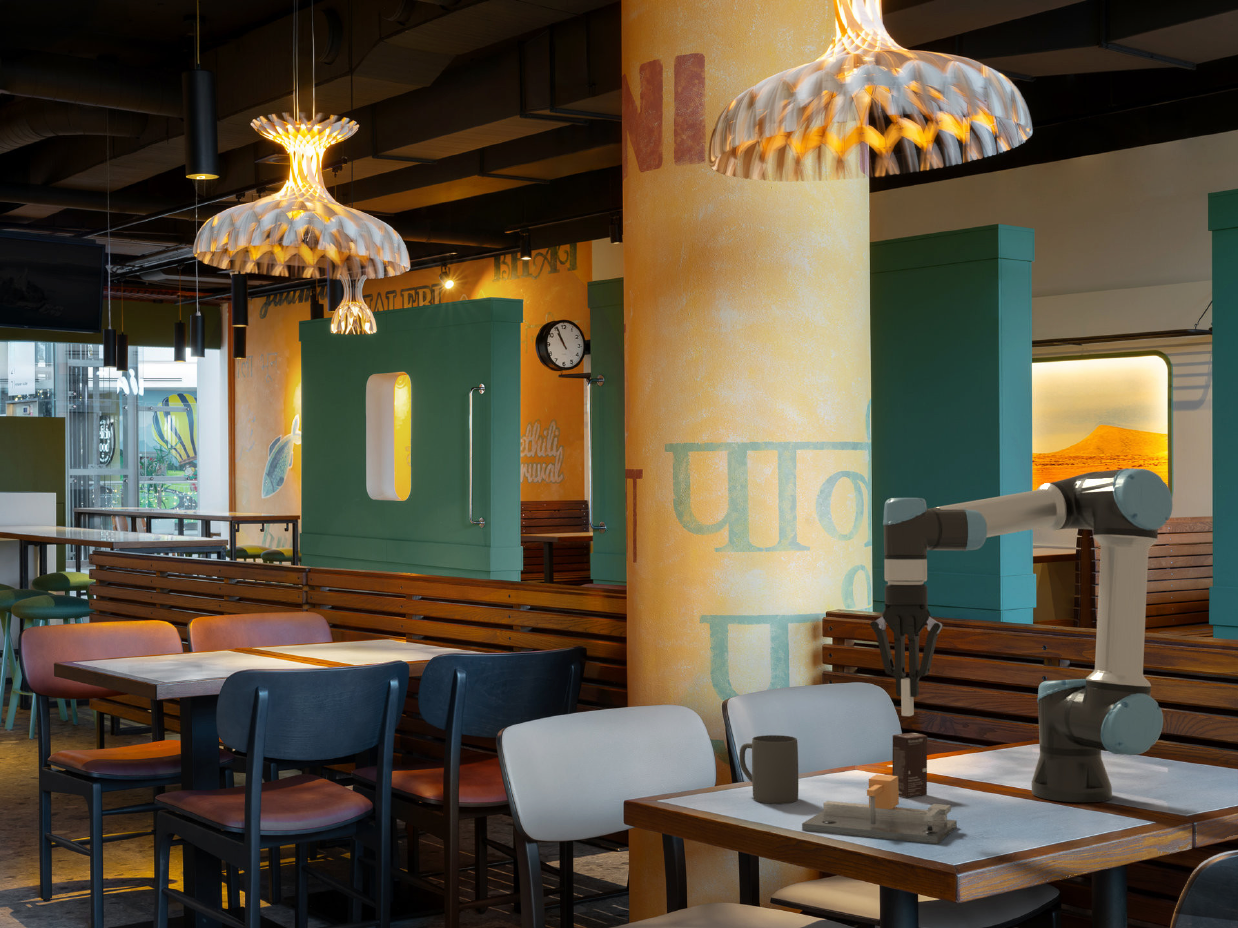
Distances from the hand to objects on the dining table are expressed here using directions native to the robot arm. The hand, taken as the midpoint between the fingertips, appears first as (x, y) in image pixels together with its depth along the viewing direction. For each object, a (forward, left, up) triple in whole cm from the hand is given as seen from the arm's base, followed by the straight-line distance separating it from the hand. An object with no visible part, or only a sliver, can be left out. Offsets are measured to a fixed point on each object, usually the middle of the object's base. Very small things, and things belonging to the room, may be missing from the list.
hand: (907, 714), depth 229 cm
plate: (+5, +3, -20) cm, 21 cm away
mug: (+33, -14, -20) cm, 41 cm away
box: (+8, -29, -20) cm, 36 cm away
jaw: (+5, +3, -18) cm, 19 cm away
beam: (+4, +3, -19) cm, 19 cm away
